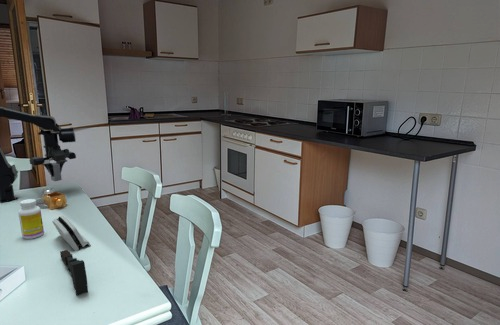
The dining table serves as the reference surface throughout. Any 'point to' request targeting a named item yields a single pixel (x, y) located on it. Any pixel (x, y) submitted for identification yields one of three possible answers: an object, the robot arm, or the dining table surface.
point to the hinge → (69, 233)
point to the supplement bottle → (30, 219)
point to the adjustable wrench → (76, 272)
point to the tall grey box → (56, 172)
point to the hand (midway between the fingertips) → (55, 175)
